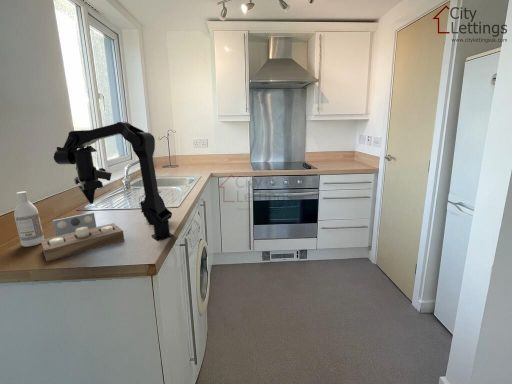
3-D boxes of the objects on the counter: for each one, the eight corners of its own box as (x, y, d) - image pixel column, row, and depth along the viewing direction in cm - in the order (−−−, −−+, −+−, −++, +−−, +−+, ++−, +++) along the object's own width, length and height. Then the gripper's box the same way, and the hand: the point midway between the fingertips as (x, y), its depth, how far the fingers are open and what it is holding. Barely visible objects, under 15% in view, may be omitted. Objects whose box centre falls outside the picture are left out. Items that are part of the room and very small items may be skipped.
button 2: (115, 237, 107) (113, 227, 106) (104, 240, 104) (102, 230, 103) (112, 234, 109) (110, 225, 109) (101, 237, 107) (99, 227, 106)
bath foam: (46, 242, 105) (35, 191, 101) (23, 248, 100) (10, 195, 96) (42, 238, 110) (31, 189, 105) (20, 243, 105) (7, 192, 100)
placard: (97, 231, 116) (94, 212, 114) (56, 240, 107) (52, 221, 105) (96, 230, 117) (93, 212, 115) (56, 239, 108) (52, 220, 106)
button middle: (91, 238, 101) (89, 228, 100) (78, 242, 98) (76, 231, 97) (88, 235, 104) (86, 225, 103) (76, 238, 101) (74, 228, 100)
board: (124, 240, 105) (122, 230, 104) (46, 261, 90) (44, 250, 89) (115, 232, 114) (113, 223, 113) (42, 250, 98) (40, 239, 97)
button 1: (66, 250, 96) (64, 239, 95) (52, 254, 94) (49, 243, 93) (64, 247, 99) (62, 236, 98) (50, 250, 97) (48, 239, 96)
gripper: (114, 163, 104) (120, 203, 108) (101, 160, 118) (107, 195, 121) (80, 167, 97) (88, 210, 100) (70, 163, 110) (77, 200, 114)
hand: (91, 203), depth 109 cm, fingers closed
